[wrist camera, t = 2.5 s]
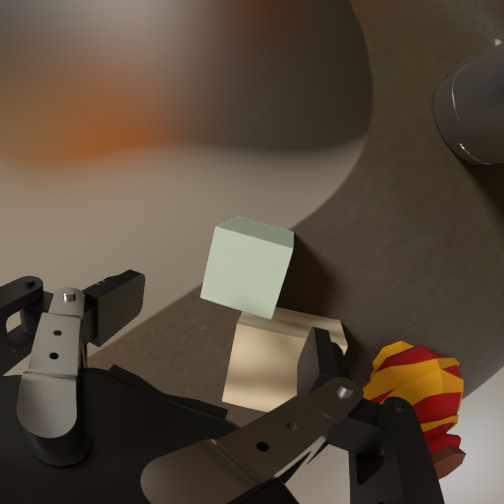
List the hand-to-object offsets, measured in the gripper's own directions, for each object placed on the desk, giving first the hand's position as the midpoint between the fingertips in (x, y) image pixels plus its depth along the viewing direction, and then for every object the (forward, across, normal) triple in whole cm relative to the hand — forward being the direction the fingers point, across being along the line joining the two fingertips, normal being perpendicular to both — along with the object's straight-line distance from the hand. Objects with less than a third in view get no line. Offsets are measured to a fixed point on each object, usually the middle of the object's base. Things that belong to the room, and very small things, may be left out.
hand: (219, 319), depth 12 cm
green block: (+13, 0, 0) cm, 13 cm away
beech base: (+13, -5, +8) cm, 16 cm away
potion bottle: (+13, -17, +7) cm, 23 cm away
